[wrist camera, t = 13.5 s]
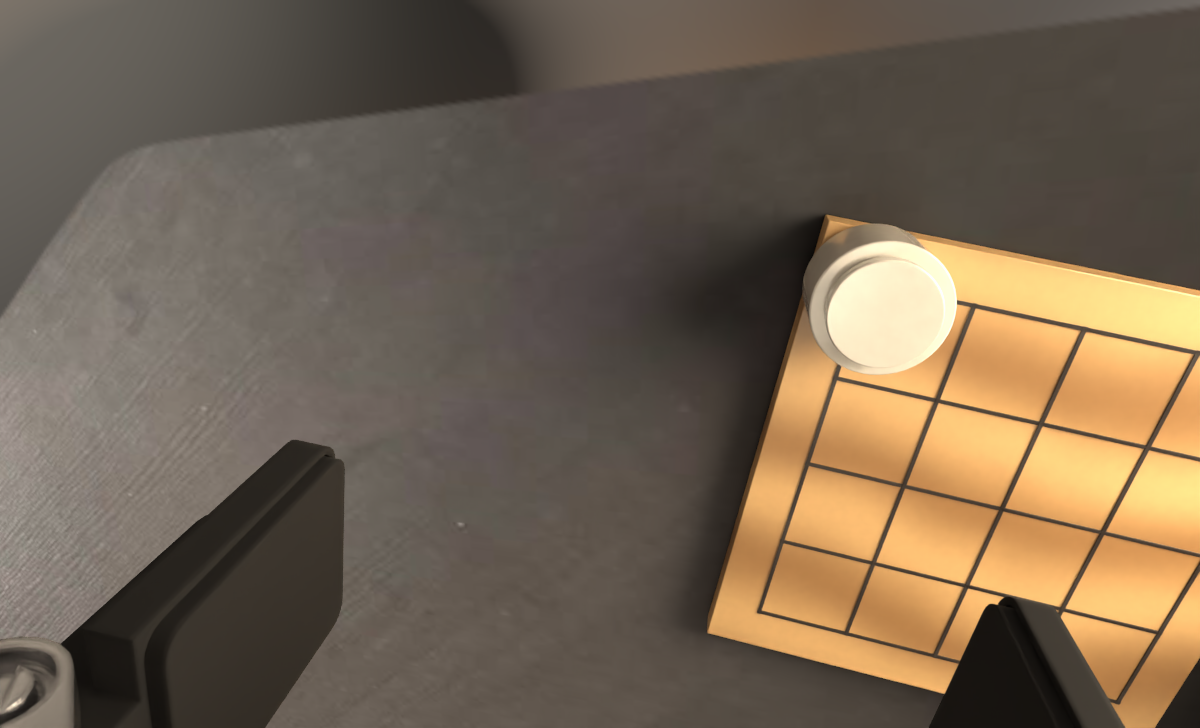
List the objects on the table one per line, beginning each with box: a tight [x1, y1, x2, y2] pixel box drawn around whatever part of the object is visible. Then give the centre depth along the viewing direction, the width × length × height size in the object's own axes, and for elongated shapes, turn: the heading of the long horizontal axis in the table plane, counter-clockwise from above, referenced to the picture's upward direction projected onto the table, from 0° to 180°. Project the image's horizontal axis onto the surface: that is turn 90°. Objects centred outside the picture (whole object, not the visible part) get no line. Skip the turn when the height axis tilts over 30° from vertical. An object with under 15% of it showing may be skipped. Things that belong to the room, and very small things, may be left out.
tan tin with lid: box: [802, 224, 957, 375], centre depth 27 cm, size 5×5×4 cm
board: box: [707, 215, 1200, 728], centre depth 31 cm, size 20×20×1 cm
